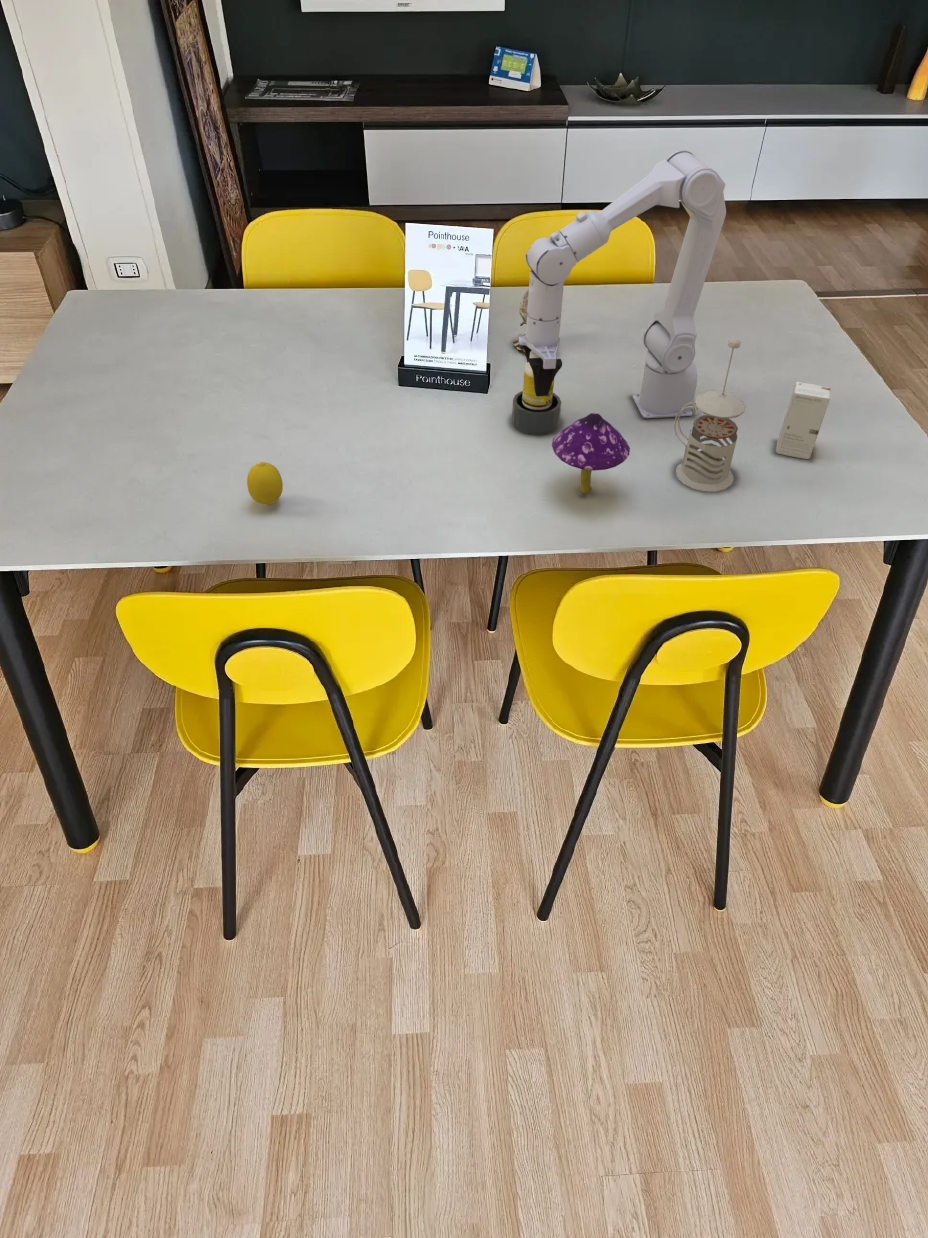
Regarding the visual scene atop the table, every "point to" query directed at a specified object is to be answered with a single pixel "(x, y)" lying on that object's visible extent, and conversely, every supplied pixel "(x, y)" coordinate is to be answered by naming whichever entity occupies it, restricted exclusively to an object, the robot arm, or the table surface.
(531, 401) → the supplement bottle
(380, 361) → the table surface
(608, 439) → the decorative mushroom
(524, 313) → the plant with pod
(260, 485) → the lemon
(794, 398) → the cosmetic box
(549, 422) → the metal bowl
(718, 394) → the french press
